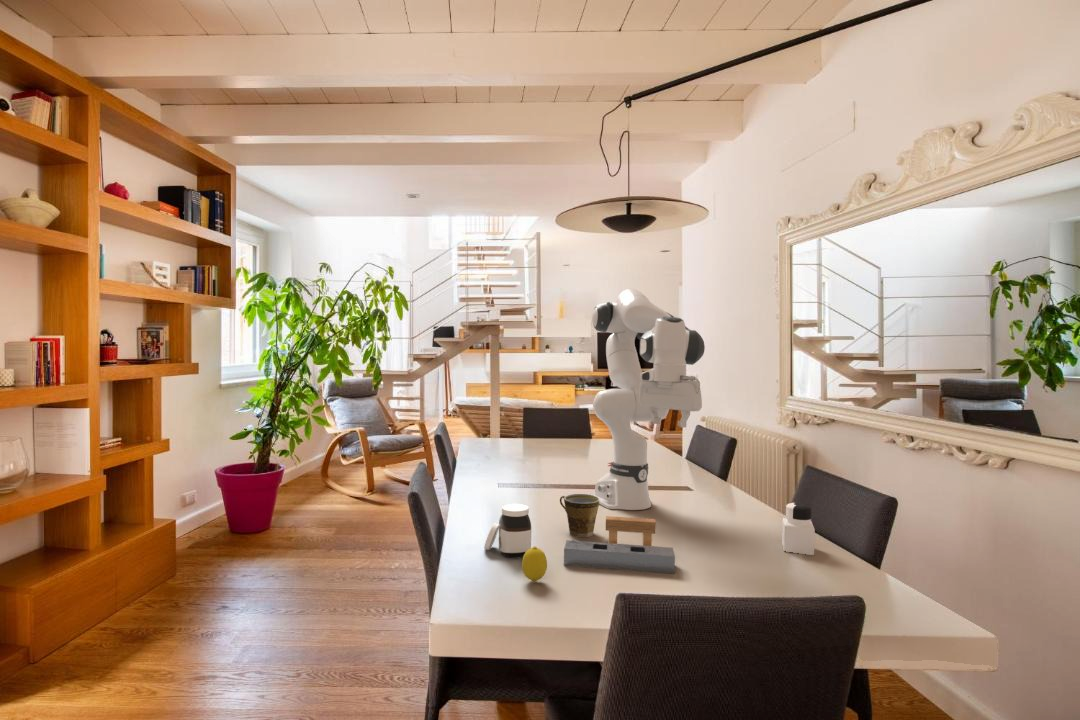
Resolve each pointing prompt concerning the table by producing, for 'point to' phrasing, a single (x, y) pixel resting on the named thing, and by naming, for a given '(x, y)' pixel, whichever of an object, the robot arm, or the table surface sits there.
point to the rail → (619, 556)
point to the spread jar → (512, 531)
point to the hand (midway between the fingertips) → (668, 425)
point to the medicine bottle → (798, 529)
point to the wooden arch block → (630, 528)
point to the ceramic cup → (581, 513)
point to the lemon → (534, 564)
